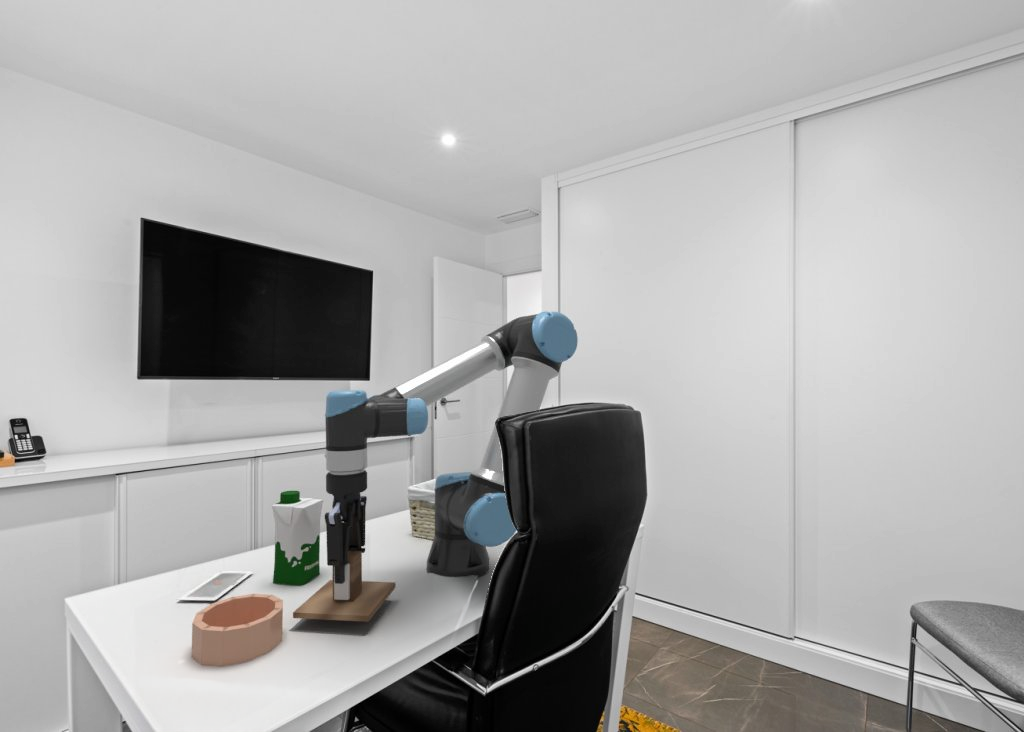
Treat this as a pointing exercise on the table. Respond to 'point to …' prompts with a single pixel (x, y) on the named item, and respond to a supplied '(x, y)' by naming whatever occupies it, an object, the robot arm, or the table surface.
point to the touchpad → (215, 586)
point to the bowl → (237, 629)
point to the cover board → (345, 608)
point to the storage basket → (422, 509)
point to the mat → (339, 624)
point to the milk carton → (296, 539)
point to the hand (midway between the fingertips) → (347, 592)
